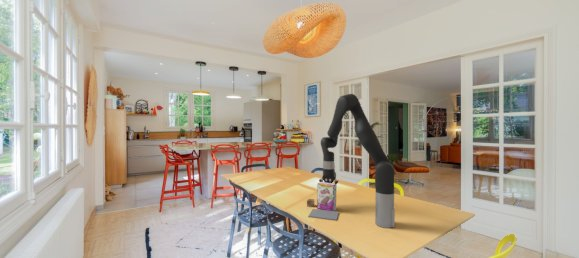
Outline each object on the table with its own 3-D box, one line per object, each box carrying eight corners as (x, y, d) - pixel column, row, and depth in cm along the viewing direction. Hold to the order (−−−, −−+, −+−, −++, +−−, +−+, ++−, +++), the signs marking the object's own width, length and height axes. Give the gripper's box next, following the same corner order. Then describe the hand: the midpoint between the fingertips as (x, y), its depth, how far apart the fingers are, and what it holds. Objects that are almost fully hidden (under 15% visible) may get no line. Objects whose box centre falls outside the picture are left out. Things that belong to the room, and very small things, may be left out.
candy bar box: (316, 208, 150) (317, 182, 150) (320, 206, 154) (320, 181, 154) (333, 212, 144) (333, 185, 144) (336, 209, 148) (336, 183, 148)
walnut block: (314, 205, 157) (314, 199, 157) (312, 207, 153) (313, 201, 153) (308, 204, 158) (308, 198, 158) (306, 206, 154) (306, 200, 154)
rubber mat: (338, 212, 144) (338, 211, 144) (336, 220, 132) (336, 219, 132) (312, 209, 149) (312, 208, 149) (308, 216, 137) (308, 215, 137)
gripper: (317, 168, 153) (317, 194, 153) (338, 169, 149) (338, 196, 149) (319, 166, 160) (319, 191, 161) (339, 167, 156) (339, 193, 156)
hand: (328, 194), depth 155 cm, fingers closed
